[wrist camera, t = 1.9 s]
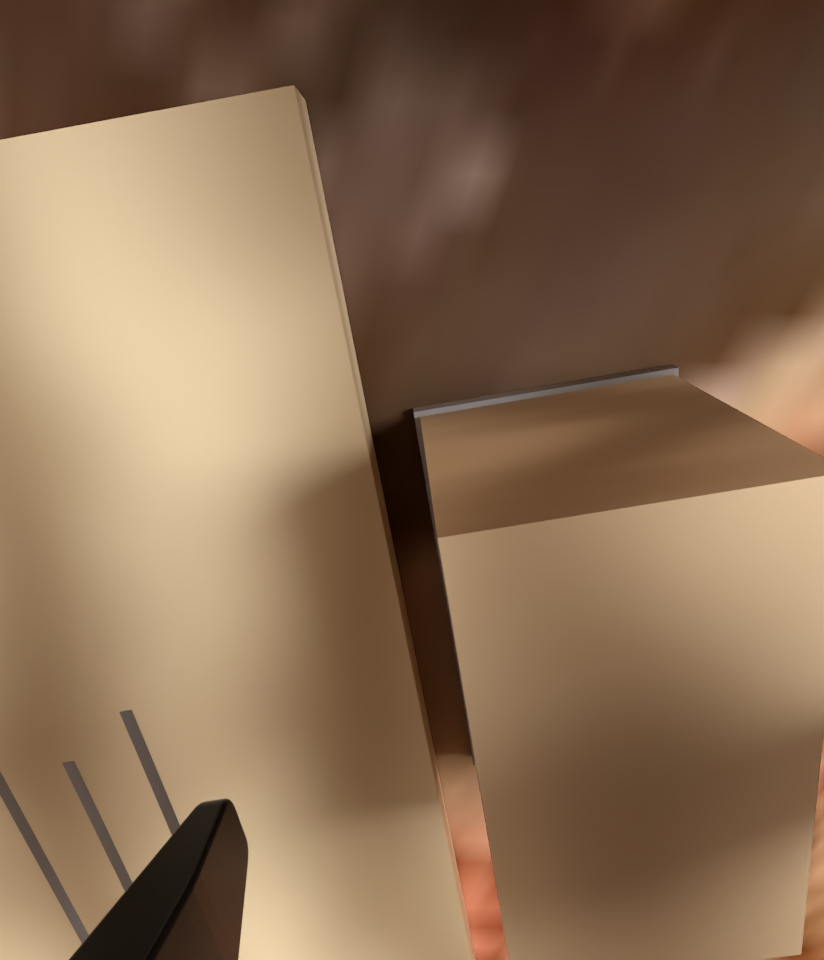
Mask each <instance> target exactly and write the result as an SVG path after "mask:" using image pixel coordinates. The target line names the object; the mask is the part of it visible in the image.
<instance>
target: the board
mask: <svg viewBox="0 0 824 960" xmlns="http://www.w3.org/2000/svg"><path fill="white" fill-rule="evenodd" d="M219 799H229V800H231V801H232V802H233V804H234V806H235V809H236V812H237V814H238V817H239V820H240V822H241V825H242V828H243V830H244V833H245V836H246V839H247V843H248V868H247V878H246V888H245V898H244V908H243V918H242V928H241V938H240V948H239V958H238V960H476V959H475V954H474V949H473V944H472V939H471V934H470V929H469V924H468V919H467V914H466V909H465V904H464V898H463V893H462V888H461V883H460V878H459V873H458V868H457V863H456V858H455V853H454V848H453V843H452V838H451V833H450V828H449V823H448V818H447V813H446V808H445V803H444V797H443V792H442V787H441V782H440V777H439V772H438V767H437V762H436V757H435V752H434V747H433V742H432V737H431V732H430V727H429V722H428V717H427V712H426V707H425V701H424V696H423V691H422V686H421V681H420V676H419V671H418V666H417V661H416V656H415V651H414V646H413V641H412V636H411V631H410V626H409V621H408V616H407V611H406V606H405V600H404V595H403V590H402V585H401V580H400V575H399V570H398V565H397V560H396V555H395V550H394V545H393V540H392V535H391V530H390V525H389V520H388V515H387V510H386V504H385V499H384V494H383V489H382V484H381V479H380V474H379V469H378V464H377V459H376V454H375V449H374V444H373V439H372V434H371V429H370V424H369V419H368V414H367V409H366V403H365V398H364V393H363V388H362V383H361V378H360V373H359V368H358V363H357V358H356V353H355V348H354V343H353V338H352V333H351V328H350V323H349V318H348V313H347V307H346V302H345V297H344V292H343V287H342V282H341V277H340V272H339V267H338V262H337V257H336V252H335V247H334V242H333V237H332V232H331V227H330V222H329V217H328V212H327V206H326V201H325V196H324V191H323V186H322V181H321V176H320V171H319V166H318V161H317V156H316V151H315V146H314V141H313V136H312V131H311V126H310V121H309V116H308V110H307V105H306V101H305V99H304V98H303V97H302V95H301V94H300V93H299V91H298V90H297V88H296V87H295V86H294V85H292V86H286V87H281V88H275V89H270V90H265V91H259V92H254V93H249V94H243V95H238V96H233V97H227V98H222V99H217V100H211V101H206V102H201V103H195V104H190V105H184V106H179V107H174V108H168V109H163V110H158V111H152V112H147V113H142V114H136V115H131V116H126V117H120V118H115V119H110V120H104V121H99V122H93V123H88V124H83V125H77V126H72V127H67V128H61V129H56V130H51V131H45V132H40V133H35V134H29V135H24V136H19V137H13V138H8V139H2V140H0V960H69V959H70V958H71V956H72V955H73V954H74V953H75V951H76V950H77V949H78V948H79V947H80V945H81V944H82V943H83V942H84V941H85V939H86V938H87V937H88V936H89V935H90V933H91V932H92V931H93V930H94V929H95V927H96V926H97V925H98V924H99V923H100V921H101V920H102V919H103V918H104V917H105V915H106V914H107V913H108V912H109V911H110V909H111V908H112V907H113V906H114V905H115V903H116V902H117V901H118V900H119V899H120V897H121V896H122V895H123V894H124V892H125V891H126V890H127V889H128V888H129V886H130V885H131V884H132V883H133V882H134V880H135V879H136V878H137V877H138V876H139V874H140V873H141V872H142V871H143V870H144V868H145V867H146V866H147V865H148V864H149V862H150V861H151V860H152V859H153V858H154V856H155V855H156V854H157V853H158V852H159V850H160V849H161V848H162V847H163V846H164V844H165V843H166V842H167V841H168V840H169V838H170V837H171V836H172V835H173V833H174V832H175V831H176V830H177V829H178V827H179V826H180V825H181V824H182V823H183V821H184V820H185V819H186V818H187V817H188V815H189V814H190V813H191V812H192V811H193V809H194V808H195V807H196V806H197V805H199V804H200V803H202V802H205V801H212V800H219Z"/></svg>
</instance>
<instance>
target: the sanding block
mask: <svg viewBox="0 0 824 960" xmlns="http://www.w3.org/2000/svg"><path fill="white" fill-rule="evenodd" d="M413 413H414V419H415V425H416V430H417V436H418V442H419V448H420V454H421V460H422V466H423V471H424V477H425V483H426V489H427V495H428V501H429V507H430V512H431V518H432V524H433V530H434V536H435V542H436V548H437V553H438V559H439V565H440V571H441V577H442V583H443V589H444V594H445V600H446V606H447V612H448V618H449V624H450V630H451V635H452V641H453V647H454V653H455V659H456V665H457V671H458V676H459V682H460V688H461V694H462V700H463V706H464V712H465V717H466V723H467V729H468V735H469V741H470V747H471V753H472V758H473V764H474V765H476V769H477V775H478V781H479V787H480V793H481V799H482V805H483V811H484V817H485V823H486V829H487V834H488V840H489V846H490V852H491V858H492V864H493V870H494V876H495V882H496V888H497V894H498V900H499V905H500V911H501V917H502V923H503V929H504V935H505V941H506V947H507V953H508V959H509V960H762V959H769V958H777V957H784V956H791V955H799V954H801V951H802V941H803V931H804V921H805V911H806V901H807V891H808V881H809V871H810V861H811V851H812V841H813V832H814V822H815V812H816V802H817V792H818V782H819V772H820V762H821V752H822V742H823V732H824V457H822V456H820V455H818V454H817V453H815V452H813V451H811V450H809V449H807V448H806V447H804V446H802V445H800V444H798V443H797V442H795V441H793V440H791V439H789V438H788V437H786V436H784V435H782V434H780V433H778V432H777V431H775V430H773V429H771V428H769V427H768V426H766V425H764V424H762V423H760V422H758V421H757V420H755V419H753V418H751V417H749V416H748V415H746V414H744V413H742V412H740V411H739V410H737V409H735V408H733V407H731V406H729V405H728V404H726V403H724V402H722V401H720V400H719V399H717V398H715V397H713V396H711V395H709V394H708V393H706V392H704V391H702V390H700V389H699V388H697V387H695V386H693V385H691V384H690V383H688V382H686V381H684V380H682V379H680V378H679V368H678V367H676V366H675V365H673V364H672V365H666V366H660V367H654V368H648V369H643V370H637V371H631V372H625V373H619V374H613V375H607V376H601V377H595V378H589V379H583V380H577V381H571V382H565V383H559V384H553V385H547V386H541V387H535V388H529V389H523V390H517V391H511V392H505V393H500V394H494V395H488V396H482V397H476V398H470V399H464V400H458V401H452V402H446V403H440V404H434V405H428V406H422V407H416V408H413Z"/></svg>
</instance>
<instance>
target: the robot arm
mask: <svg viewBox="0 0 824 960" xmlns="http://www.w3.org/2000/svg"><path fill="white" fill-rule="evenodd" d="M247 868H248V843H247V839H246V836H245V833H244V830H243V828H242V825H241V822H240V820H239V817H238V814H237V812H236V809H235V806H234V804H233V802H232V801H231V800H229V799H219V800H212V801H205V802H202V803H200V804H199V805H197V806H196V807H195V808H194V809H193V811H192V812H191V813H190V814H189V815H188V817H187V818H186V819H185V820H184V821H183V823H182V824H181V825H180V826H179V827H178V829H177V830H176V831H175V832H174V833H173V835H172V836H171V837H170V838H169V840H168V841H167V842H166V843H165V844H164V846H163V847H162V848H161V849H160V850H159V852H158V853H157V854H156V855H155V856H154V858H153V859H152V860H151V861H150V862H149V864H148V865H147V866H146V867H145V868H144V870H143V871H142V872H141V873H140V874H139V876H138V877H137V878H136V879H135V880H134V882H133V883H132V884H131V885H130V886H129V888H128V889H127V890H126V891H125V892H124V894H123V895H122V896H121V897H120V899H119V900H118V901H117V902H116V903H115V905H114V906H113V907H112V908H111V909H110V911H109V912H108V913H107V914H106V915H105V917H104V918H103V919H102V920H101V921H100V923H99V924H98V925H97V926H96V927H95V929H94V930H93V931H92V932H91V933H90V935H89V936H88V937H87V938H86V939H85V941H84V942H83V943H82V944H81V945H80V947H79V948H78V949H77V950H76V951H75V953H74V954H73V955H72V956H71V958H70V959H69V960H238V958H239V948H240V938H241V928H242V918H243V908H244V898H245V888H246V878H247Z"/></svg>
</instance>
